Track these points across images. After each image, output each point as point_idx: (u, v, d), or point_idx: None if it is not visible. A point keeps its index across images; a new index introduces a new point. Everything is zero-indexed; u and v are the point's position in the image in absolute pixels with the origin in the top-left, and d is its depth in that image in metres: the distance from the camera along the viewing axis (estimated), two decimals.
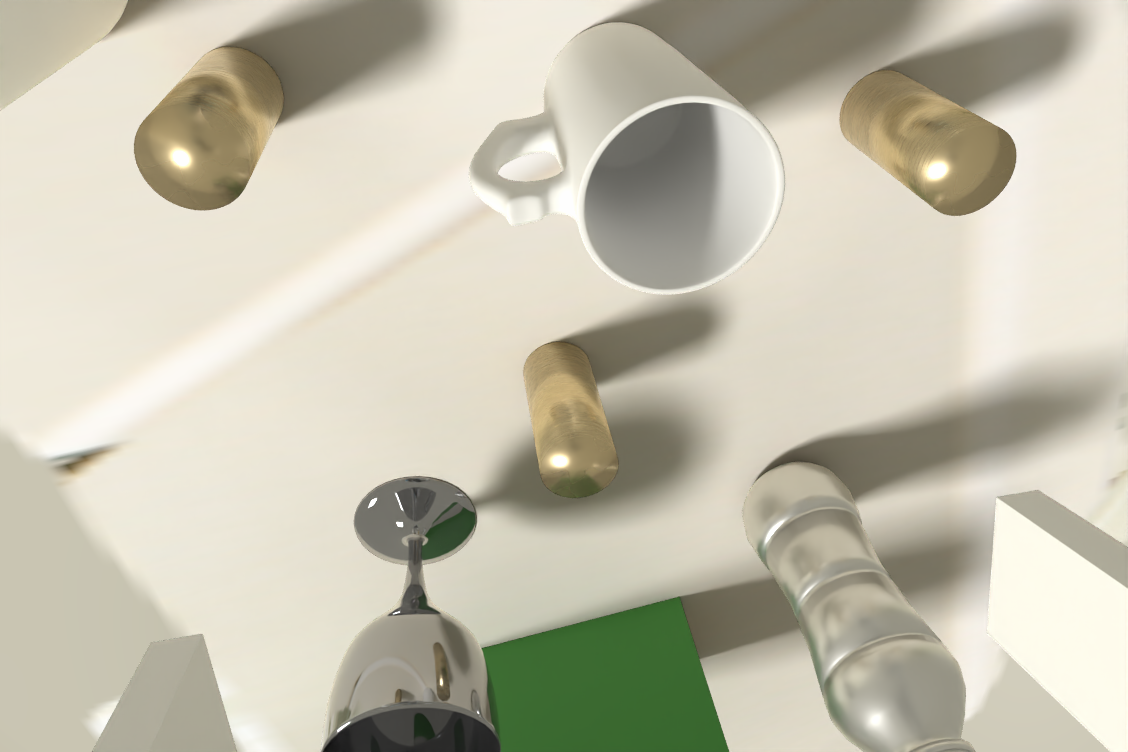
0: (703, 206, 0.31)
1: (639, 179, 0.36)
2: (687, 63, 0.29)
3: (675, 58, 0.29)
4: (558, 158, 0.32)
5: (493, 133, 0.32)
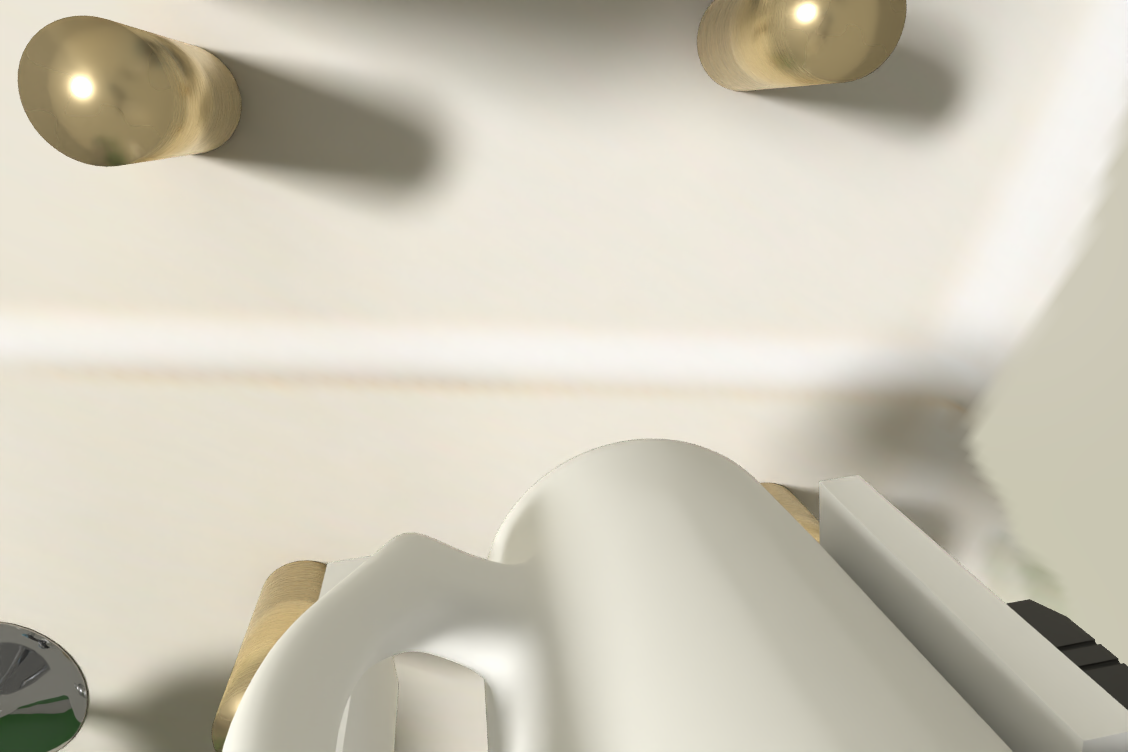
0: None
1: None
2: None
3: None
4: (514, 744, 0.10)
5: (385, 565, 0.11)
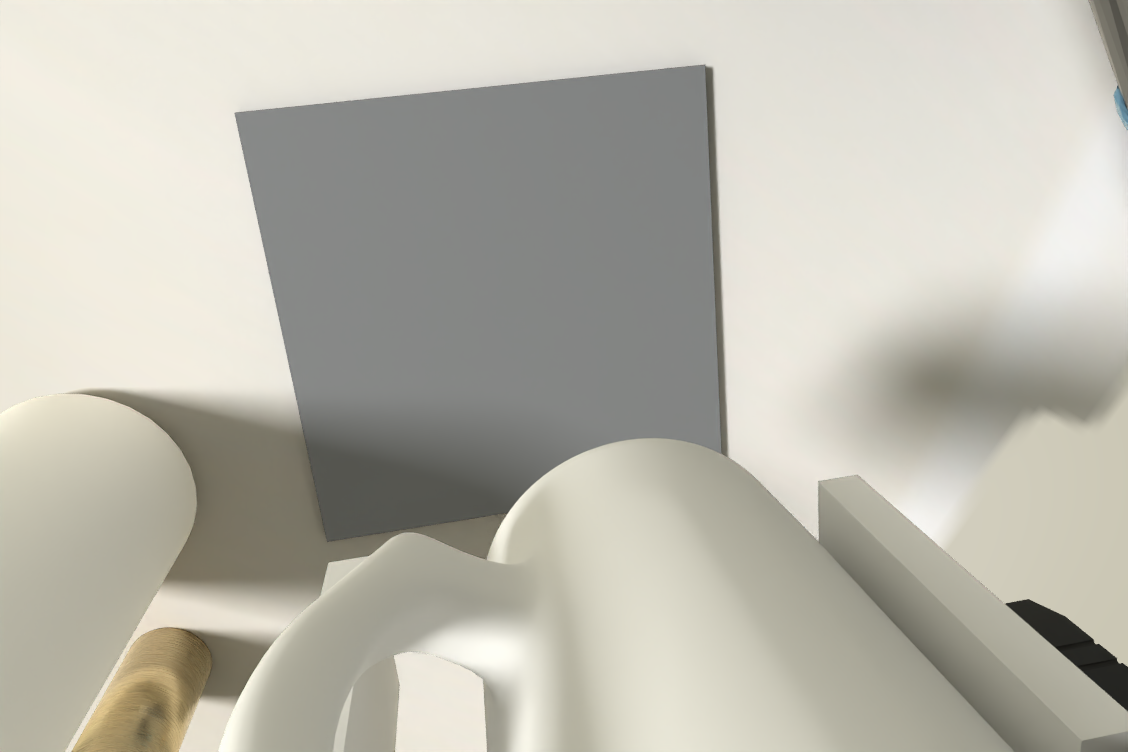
0: None
1: None
2: None
3: (982, 717, 0.10)
4: (513, 746, 0.10)
5: (383, 565, 0.11)
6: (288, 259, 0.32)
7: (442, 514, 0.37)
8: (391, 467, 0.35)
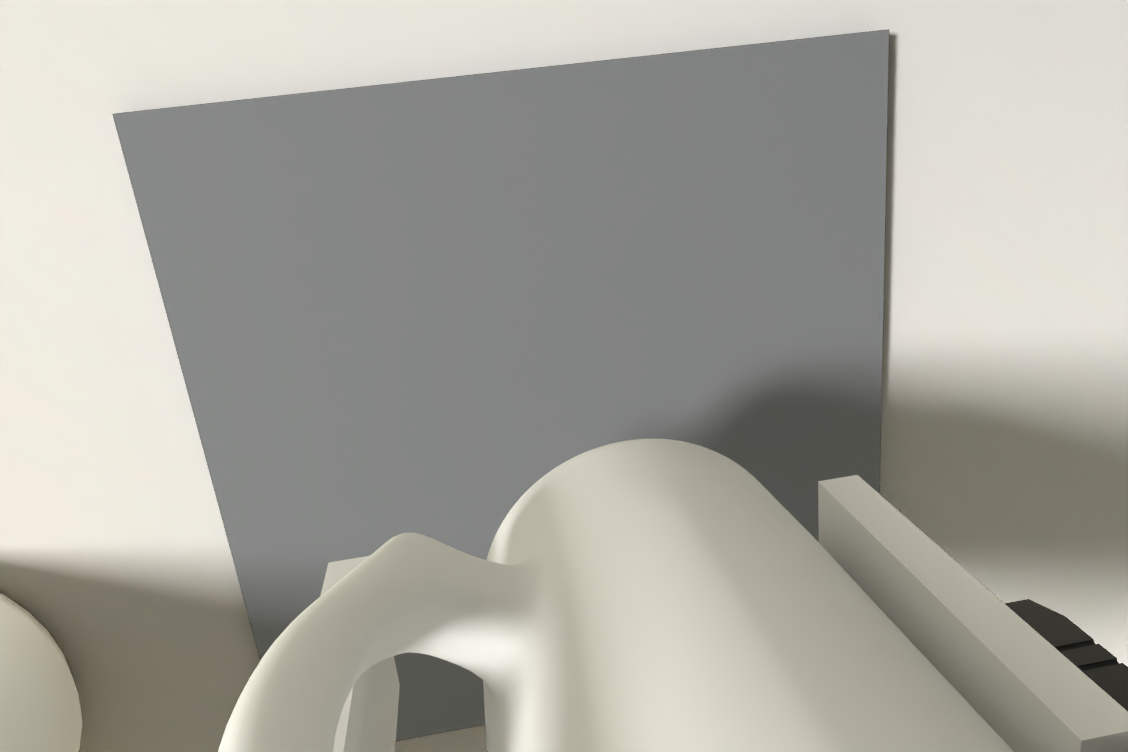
0: None
1: None
2: None
3: None
4: (513, 746, 0.10)
5: (383, 565, 0.11)
6: (213, 350, 0.20)
7: (462, 717, 0.24)
8: None
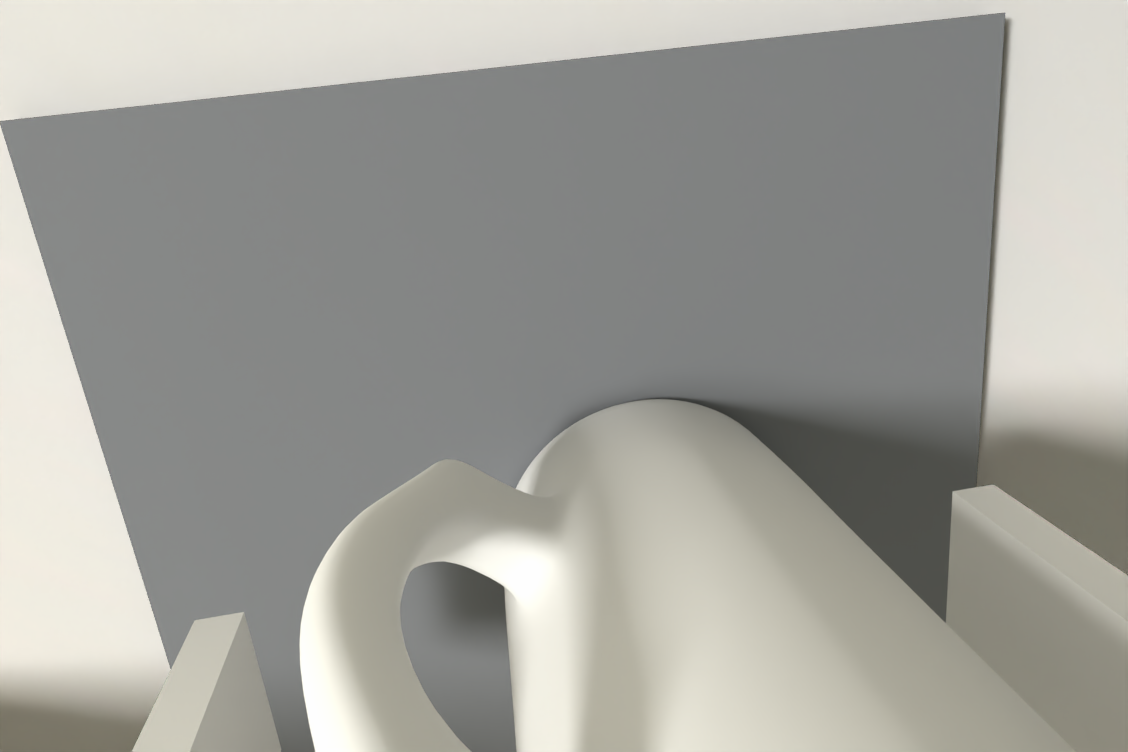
0: None
1: None
2: None
3: None
4: (541, 643, 0.12)
5: (433, 480, 0.12)
6: (141, 423, 0.16)
7: None
8: None
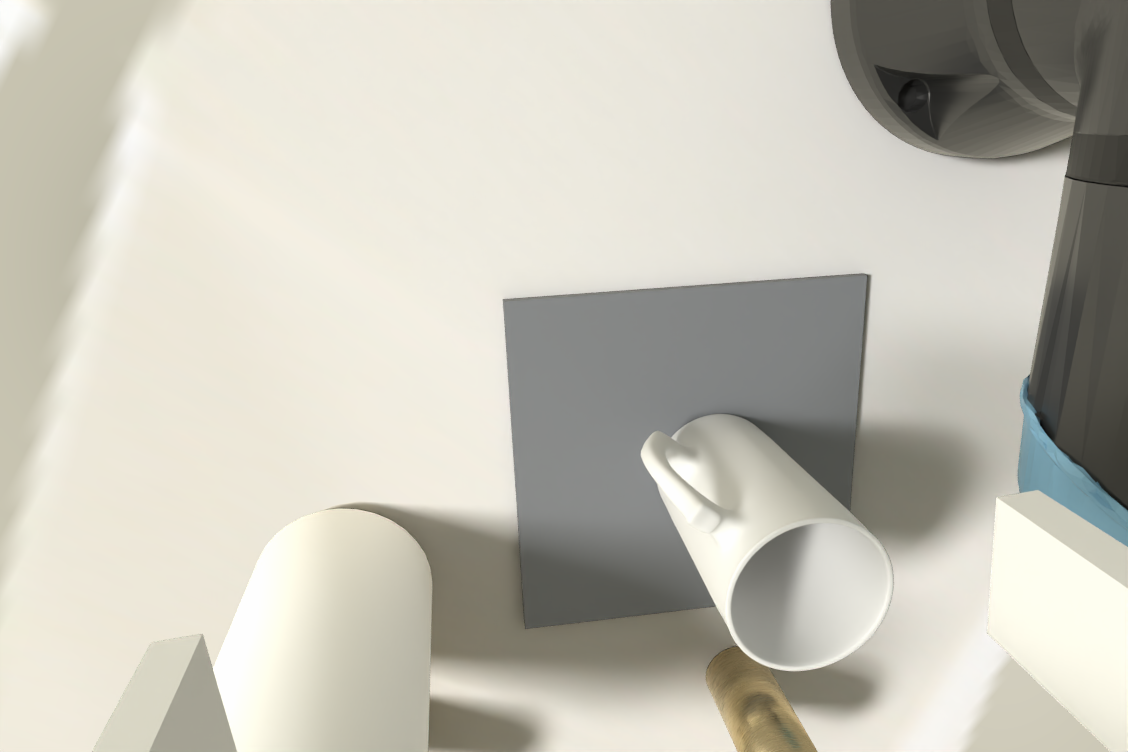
0: (765, 600, 0.37)
1: None
2: None
3: None
4: None
5: (659, 436, 0.37)
6: (527, 411, 0.40)
7: (619, 611, 0.45)
8: (584, 573, 0.44)
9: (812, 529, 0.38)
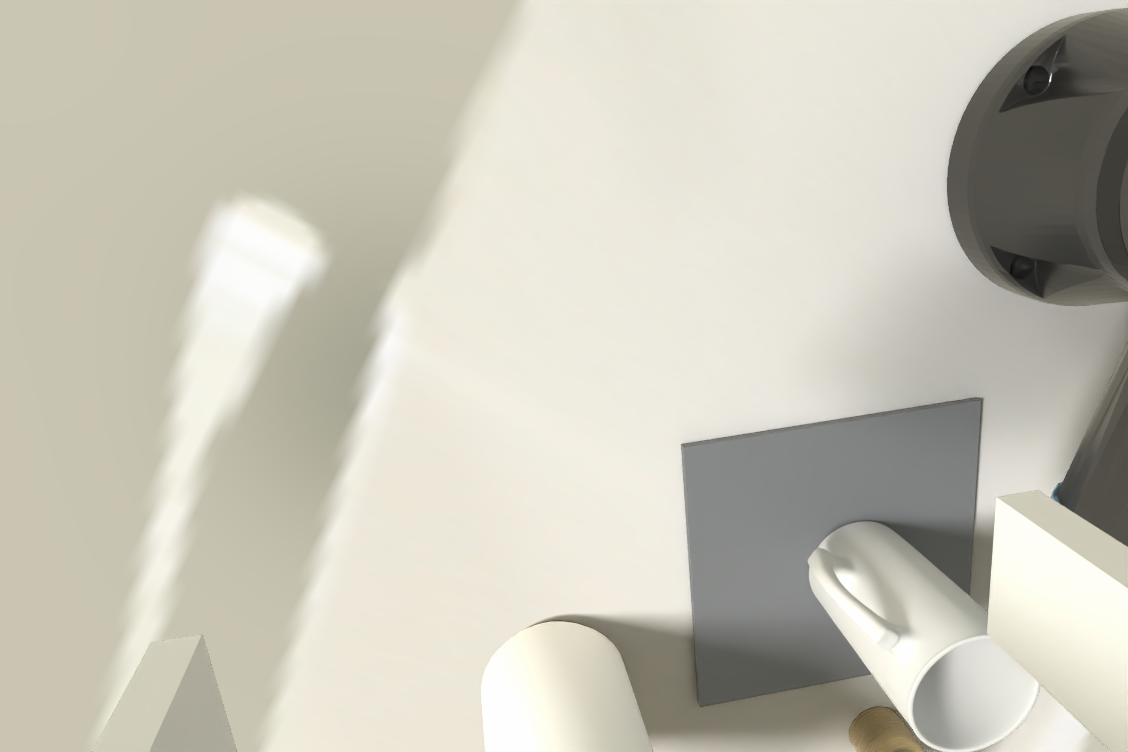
0: (922, 686, 0.44)
1: None
2: None
3: None
4: (858, 599, 0.44)
5: (824, 555, 0.45)
6: (702, 532, 0.48)
7: (777, 686, 0.53)
8: (748, 658, 0.52)
9: None
